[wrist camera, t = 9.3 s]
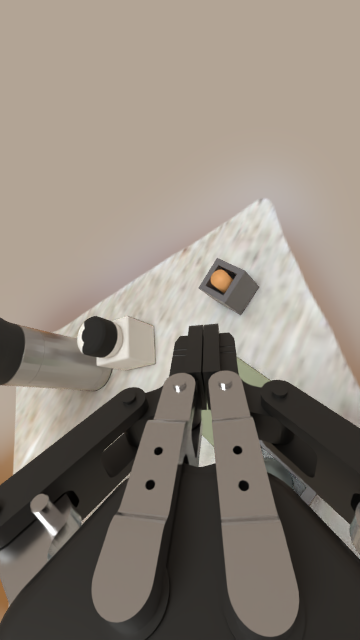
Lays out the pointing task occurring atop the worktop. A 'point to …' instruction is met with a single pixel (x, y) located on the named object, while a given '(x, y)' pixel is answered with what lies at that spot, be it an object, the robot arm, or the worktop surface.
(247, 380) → the rubber mat
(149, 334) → the medicine bottle
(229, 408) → the robot arm
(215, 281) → the plunger
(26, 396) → the worktop surface
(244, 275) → the gray square socket block
